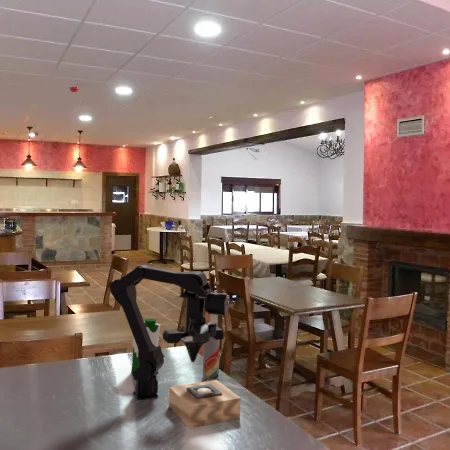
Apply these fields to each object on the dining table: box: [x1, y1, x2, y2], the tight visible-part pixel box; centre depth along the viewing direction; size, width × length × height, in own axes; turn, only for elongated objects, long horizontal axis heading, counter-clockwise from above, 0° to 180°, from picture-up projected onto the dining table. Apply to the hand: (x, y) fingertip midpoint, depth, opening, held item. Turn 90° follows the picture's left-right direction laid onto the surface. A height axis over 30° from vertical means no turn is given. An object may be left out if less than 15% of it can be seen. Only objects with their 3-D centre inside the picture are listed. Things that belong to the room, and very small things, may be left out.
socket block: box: [168, 379, 241, 429], centre depth 145 cm, size 16×16×7 cm
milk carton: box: [130, 318, 161, 375], centre depth 177 cm, size 9×9×20 cm
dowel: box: [197, 388, 211, 395], centre depth 145 cm, size 4×4×6 cm
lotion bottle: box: [202, 322, 221, 381], centre depth 174 cm, size 6×6×20 cm
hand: (192, 361), depth 153 cm, fingers closed
